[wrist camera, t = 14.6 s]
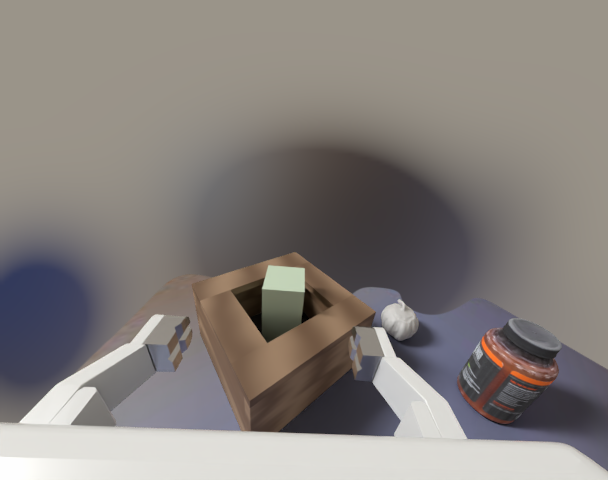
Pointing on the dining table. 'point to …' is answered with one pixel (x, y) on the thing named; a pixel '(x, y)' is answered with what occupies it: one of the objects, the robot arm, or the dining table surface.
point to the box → (276, 342)
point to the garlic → (399, 321)
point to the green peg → (282, 300)
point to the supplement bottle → (509, 370)
